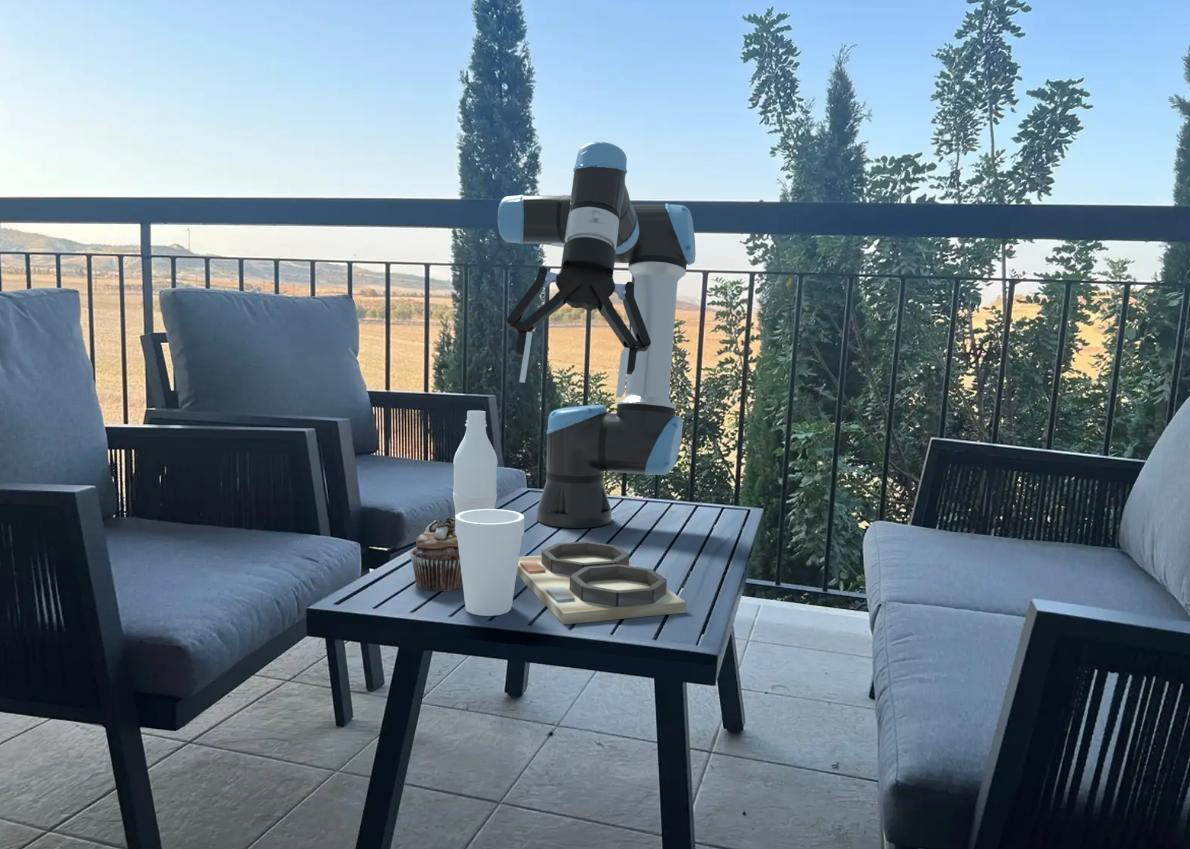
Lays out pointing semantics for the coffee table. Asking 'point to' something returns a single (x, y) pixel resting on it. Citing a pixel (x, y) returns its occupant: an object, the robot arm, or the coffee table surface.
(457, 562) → the cupcake
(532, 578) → the socket board
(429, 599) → the coffee table surface
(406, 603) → the coffee table surface
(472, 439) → the water bottle
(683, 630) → the coffee table surface
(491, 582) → the foam cup
